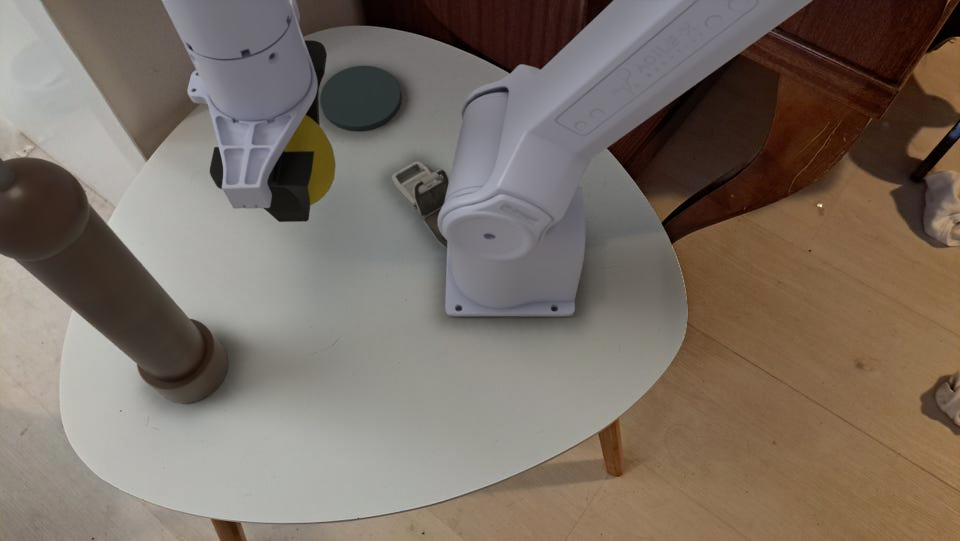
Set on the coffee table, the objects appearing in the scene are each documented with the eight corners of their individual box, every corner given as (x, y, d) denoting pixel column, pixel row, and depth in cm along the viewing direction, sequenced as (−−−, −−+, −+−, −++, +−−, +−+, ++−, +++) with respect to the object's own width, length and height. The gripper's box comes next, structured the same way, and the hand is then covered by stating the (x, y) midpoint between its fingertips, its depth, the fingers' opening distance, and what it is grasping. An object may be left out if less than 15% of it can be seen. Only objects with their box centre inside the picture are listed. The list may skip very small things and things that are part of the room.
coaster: (403, 69, 65) (402, 65, 65) (398, 131, 62) (398, 126, 61) (325, 70, 65) (324, 65, 65) (316, 131, 62) (315, 126, 61)
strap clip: (389, 181, 59) (382, 149, 56) (420, 164, 60) (415, 131, 57) (447, 254, 56) (443, 225, 52) (479, 235, 57) (478, 204, 53)
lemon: (332, 235, 49) (305, 163, 42) (253, 223, 49) (214, 149, 42) (354, 170, 51) (332, 91, 44) (279, 159, 52) (246, 79, 45)
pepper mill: (234, 335, 53) (63, 115, 32) (221, 403, 50) (26, 215, 29) (163, 334, 53) (-55, 116, 32) (147, 403, 50) (-101, 215, 29)
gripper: (183, -74, 40) (254, 96, 52) (123, 133, 33) (221, 274, 45) (311, -76, 40) (352, 94, 52) (278, 131, 33) (334, 273, 45)
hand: (298, 178), depth 48 cm, fingers closed on lemon, 5 cm apart
